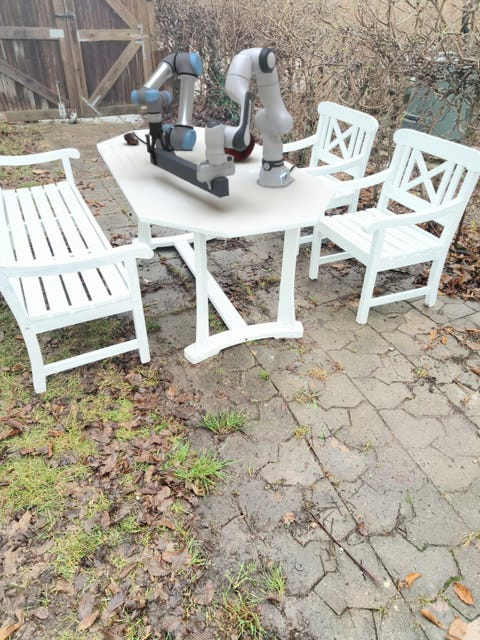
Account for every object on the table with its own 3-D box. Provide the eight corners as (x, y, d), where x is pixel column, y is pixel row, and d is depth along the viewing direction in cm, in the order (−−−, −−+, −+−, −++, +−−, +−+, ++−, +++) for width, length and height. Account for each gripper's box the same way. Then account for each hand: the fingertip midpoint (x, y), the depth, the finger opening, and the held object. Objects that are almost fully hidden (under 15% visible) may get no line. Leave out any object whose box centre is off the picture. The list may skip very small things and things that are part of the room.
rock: (136, 143, 344) (123, 145, 340) (134, 131, 341) (121, 132, 336) (140, 144, 335) (127, 145, 331) (138, 132, 331) (125, 133, 327)
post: (150, 163, 265) (149, 148, 260) (159, 161, 268) (157, 147, 263) (219, 197, 216) (218, 180, 211) (229, 195, 218) (228, 178, 214)
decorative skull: (216, 132, 305) (216, 129, 282) (250, 124, 304) (252, 121, 281) (223, 164, 312) (223, 164, 288) (256, 157, 311) (259, 156, 288)
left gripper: (142, 124, 242) (148, 168, 255) (173, 120, 250) (177, 162, 264) (136, 122, 247) (142, 165, 260) (166, 118, 255) (171, 159, 269)
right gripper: (200, 164, 205) (202, 193, 213) (236, 156, 214) (237, 184, 222) (193, 161, 209) (195, 190, 217) (229, 153, 219) (230, 181, 227)
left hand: (159, 163), depth 262 cm, fingers closed on post, 6 cm apart
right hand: (216, 187), depth 220 cm, fingers closed on post, 5 cm apart
